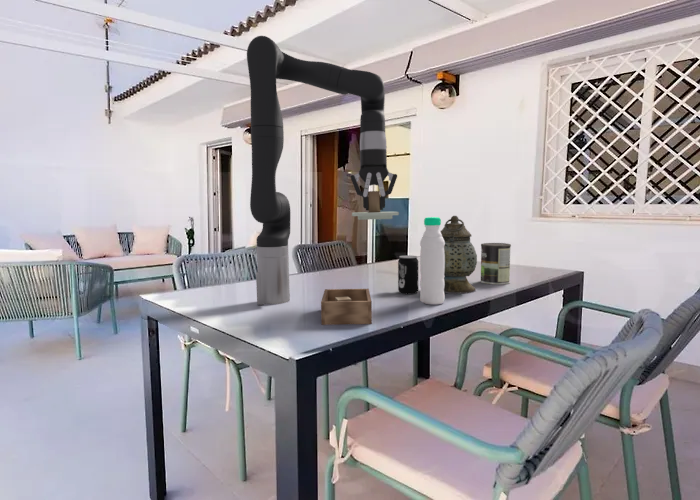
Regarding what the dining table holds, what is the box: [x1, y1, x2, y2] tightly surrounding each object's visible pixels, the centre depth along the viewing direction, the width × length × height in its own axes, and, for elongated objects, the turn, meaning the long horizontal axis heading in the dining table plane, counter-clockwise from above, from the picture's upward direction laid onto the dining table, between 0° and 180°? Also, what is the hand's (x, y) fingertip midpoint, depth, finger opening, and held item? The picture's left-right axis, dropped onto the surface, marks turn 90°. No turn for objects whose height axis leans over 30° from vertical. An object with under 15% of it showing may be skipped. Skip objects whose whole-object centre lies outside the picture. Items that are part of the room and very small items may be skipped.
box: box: [320, 288, 373, 326], centre depth 109 cm, size 12×16×6 cm
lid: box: [351, 190, 400, 221], centre depth 122 cm, size 13×17×8 cm
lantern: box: [439, 215, 478, 295], centre depth 142 cm, size 14×14×25 cm
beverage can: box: [397, 254, 419, 295], centre depth 140 cm, size 7×7×12 cm
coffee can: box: [480, 242, 512, 286], centre depth 155 cm, size 10×10×14 cm
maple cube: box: [335, 296, 351, 301], centre depth 114 cm, size 4×4×4 cm
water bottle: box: [419, 216, 445, 306], centre depth 124 cm, size 7×7×25 cm
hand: (374, 209), depth 123 cm, fingers closed on lid, 3 cm apart
